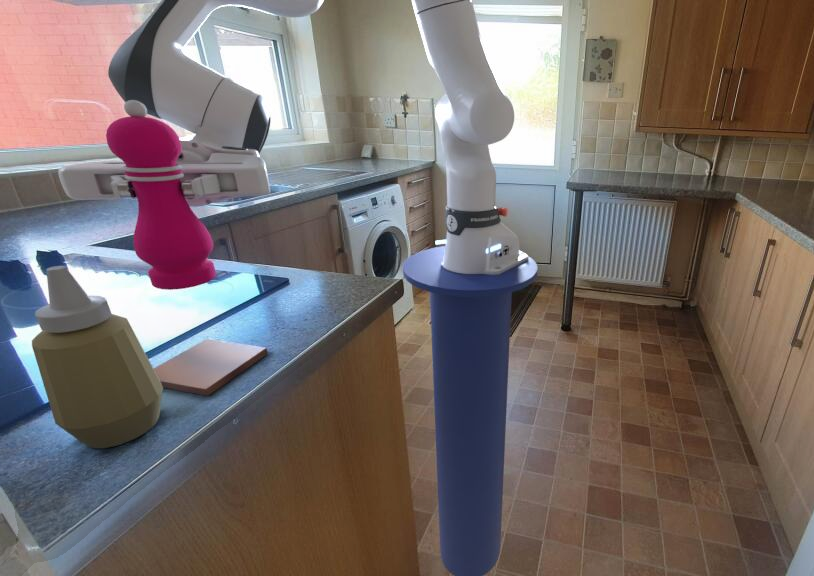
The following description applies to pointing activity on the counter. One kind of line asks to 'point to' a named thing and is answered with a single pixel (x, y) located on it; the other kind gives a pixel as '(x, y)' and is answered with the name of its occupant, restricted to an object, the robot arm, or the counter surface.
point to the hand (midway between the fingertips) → (157, 190)
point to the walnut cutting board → (207, 366)
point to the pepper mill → (161, 201)
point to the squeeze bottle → (93, 367)
